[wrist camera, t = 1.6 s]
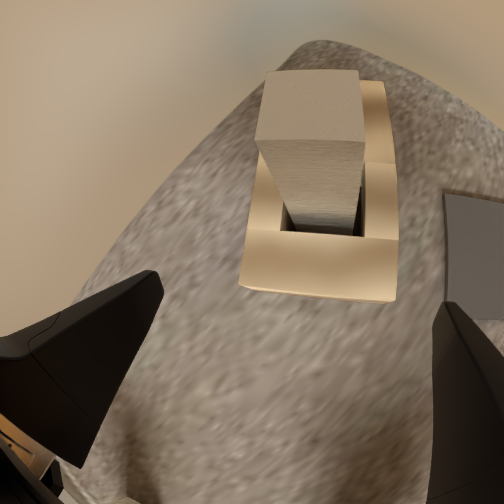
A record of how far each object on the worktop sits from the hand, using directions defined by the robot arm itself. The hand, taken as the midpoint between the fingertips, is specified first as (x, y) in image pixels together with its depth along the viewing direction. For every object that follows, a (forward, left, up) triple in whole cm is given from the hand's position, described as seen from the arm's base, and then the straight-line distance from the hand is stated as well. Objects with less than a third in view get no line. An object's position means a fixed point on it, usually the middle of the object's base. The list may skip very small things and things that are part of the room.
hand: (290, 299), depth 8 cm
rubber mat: (+10, -12, -13) cm, 21 cm away
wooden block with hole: (+9, +3, -13) cm, 16 cm away
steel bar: (+7, +3, -13) cm, 15 cm away
